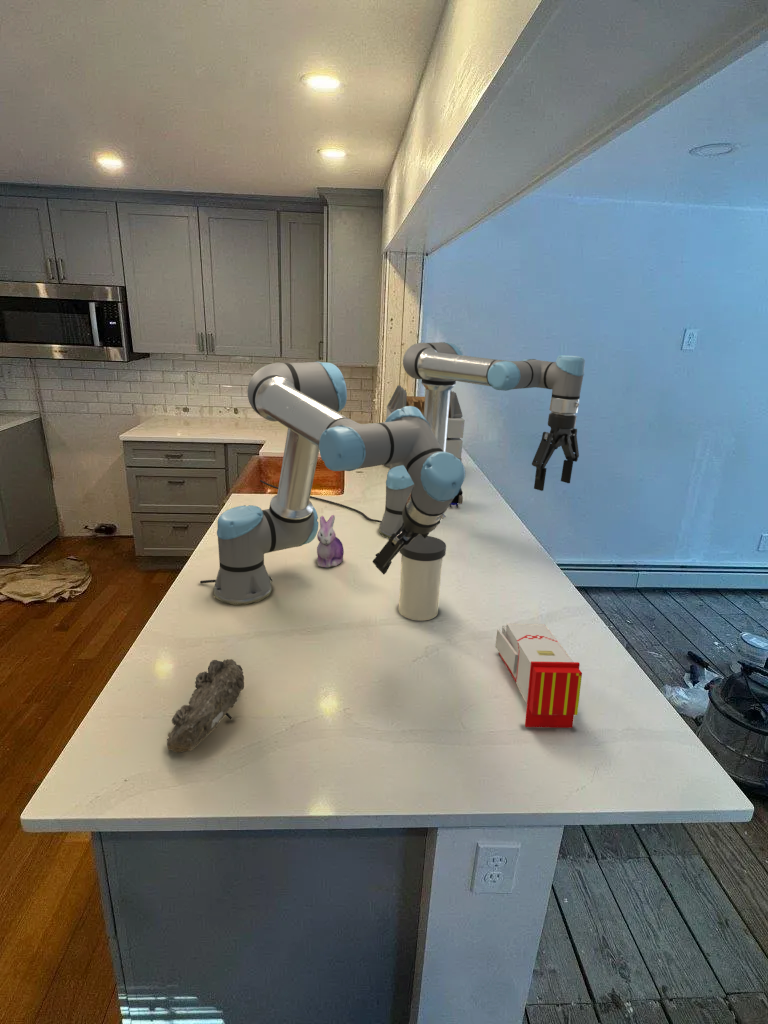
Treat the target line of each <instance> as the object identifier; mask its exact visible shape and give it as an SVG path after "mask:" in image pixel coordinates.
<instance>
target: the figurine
mask: <svg viewBox="0 0 768 1024" xmlns="http://www.w3.org/2000/svg"><path fill="white" fill-rule="evenodd" d="M335 518H336V515H334V514H332V515H331V516H330V517H329V518H328V520H326V518H325V516H324V515H321V516H320V517H319V529H318V531H317V534H316V538H317V541H318V544H317V547H316V555H317V559H316V562H317V566H318V567H320V568H321V567H322V568H331V567H337V566H338V565H340V564H342V562H343V559H344V554H345V553H344V552H345V551H344V544H343V543H342V541H341V540H340V539H339V538H338V537H337V536H336V532H335V530H334V524H335Z"/></svg>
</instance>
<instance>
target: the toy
mask: <svg viewBox="0 0 768 1024" xmlns="http://www.w3.org/2000/svg"><path fill="white" fill-rule="evenodd" d="M551 631H552V630H551V629H550V628H548V627H547V625H546V624H545V623H506V625H502V628H501V629H500V628H499V629H497V630H496V636H495V637H496V638H495V644H494V647H495V649H496V651H497V652H498V655H499V657H500V659H501V661H502V662H503V664H504V666H505V667H506V669H507V670H508V672H509V674H510V676H511V677H512V679H513V680H514V682H515V683H516V686H517V688H518V690H519V693H520V694H521V695H522V698H523V700H524V702H525V704H526V708H525V709H526V710H525V721H524V727H525V728H552V729H553V728H555V729H556V728H557V729H562V728H563V729H573V726H574V719H575V716H578V712H579V703H580V695H581V687H582V677H583V672H582V670H580V667H581V665H580V662H578V661H573V659H572V657H570V656H569V655H570V654H568V653H567V651H566V650H565V649H564V647H563V646H562V645H561V644H560V641H558V639H557V638H556V637H555V636H554V634H553V633H552V632H551Z"/></svg>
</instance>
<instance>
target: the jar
mask: <svg viewBox="0 0 768 1024" xmlns="http://www.w3.org/2000/svg"><path fill="white" fill-rule="evenodd" d="M442 569H443V558H441V559H438V560H435V561H417V560H412V559H409V558H407V557H405V556H403V555H402V554H401V559H400V577H399V595H398V613H399V614H400V615H401V616H402V617H403V618H406V619H408V620H412V621H417V622H418V621H419V622H422V621H423V622H424V621H430V620H432V619H434V618H436V617H437V615H438V613H439V605H440V594H441V593H440V592H441V581H442Z"/></svg>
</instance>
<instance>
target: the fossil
mask: <svg viewBox="0 0 768 1024" xmlns="http://www.w3.org/2000/svg"><path fill="white" fill-rule="evenodd" d="M243 670H244V669H243V667H242V665H240V664H237V662H236V661H235V660H234V659H232V658H231V659H227V658H226V659H224V660H223V661H222V660H217V659H212V660H211V661H210V663H209V665H208V666H207V671H201V672H199V673H198V674H197V675H196V676H195V680H194V684H195V685H194V687H195V689H194V690H193V693H192V694H191V697H190V698H189V700H188V704H184V705H182V706H181V707H180V709H177V710H176V711H175V713H174V715H173V716H172V718H171V723H172V724H173V727H172V730H171V731H170V732H168V734H167V738H166V741H167V742H166V745H167V749H168V750H169V751H173V752H174V753H176V754H178V753H182V752H188V751H189V752H192V751H193V750H195V748H196V747H197V746H199V744H200V743H201V742H203V741H204V740H205V739H206V738H207V737H208V736H209V735H210V734H211V733H212V732H214V730H215V729H217V727H218V726H219V724H220V722H221V721H222V720H223V719H224V718H225V716H226V717H227V719H229V720H233V717H232V715H230V714H229V710H230V709H231V708H234V706H235V704H236V703H237V702H238V699H239V697H240V695H241V693H242V691H243V690H245V689H244V688H245V675H244V671H243Z"/></svg>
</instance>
